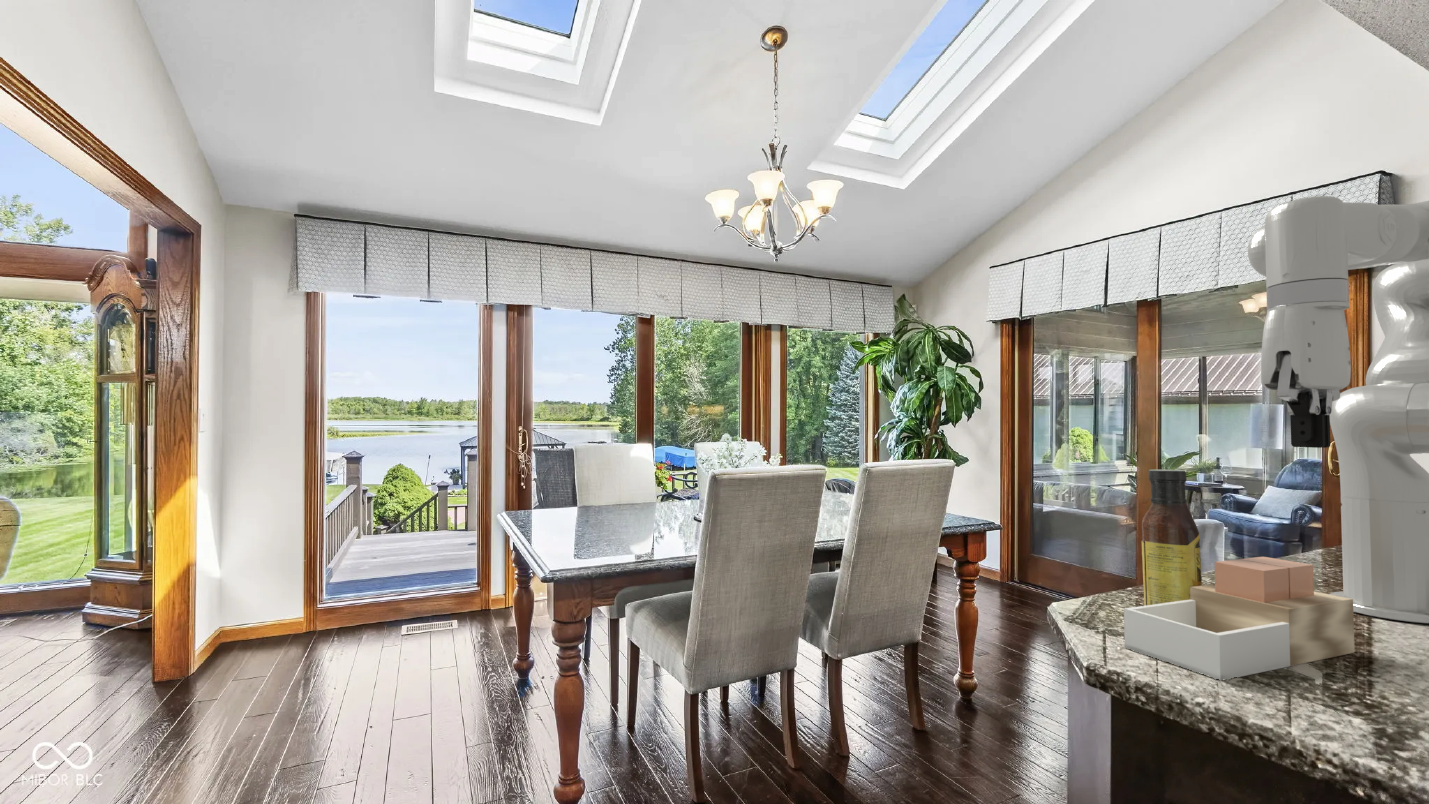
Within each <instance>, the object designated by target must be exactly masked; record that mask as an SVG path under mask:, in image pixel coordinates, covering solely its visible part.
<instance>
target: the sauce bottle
mask: <svg viewBox="0 0 1429 804" xmlns="http://www.w3.org/2000/svg"><path fill="white" fill-rule="evenodd" d="M1186 472H1187V471H1186V470H1184V469H1183V470H1182V469H1161V468H1160V469H1149V470H1148V480H1149V482H1150V499H1149V500H1150V503H1151V504H1150V506H1149V508H1148V510H1147V511H1146V512H1145V514H1144V515H1143V517H1142V521H1141V530H1142V531H1141V532H1142V535H1141V536H1142V540H1141V557H1142V560H1141V561H1142V580H1143V603H1144V605H1143V606H1146V605H1154V604H1161V603H1168V602H1175V601H1183V600H1190V587H1194V586H1202V585H1203V584H1202V583H1203V578H1202V577H1203V576H1202V575H1203V574H1202V558H1201V540H1200V539H1201V537H1200V531H1199V529H1198V527H1197V524H1196V522H1195V519H1194V517H1193V515H1192V513H1191V510H1190V507H1189V506H1188V503H1187V502H1188V501H1187V499H1186V482H1187V473H1186Z"/></svg>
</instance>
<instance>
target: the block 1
mask: <svg viewBox="0 0 1429 804" xmlns="http://www.w3.org/2000/svg"><path fill="white" fill-rule="evenodd" d="M1240 559H1241V558H1240ZM1240 559H1239V558H1237V559H1228V560H1220V561H1219V560H1218V561H1214V584H1215V592H1219V593H1223V594H1228V595H1232V596H1237V597H1241V598H1246V599H1250V600H1254V601H1259V602H1263V603H1266V602H1273V601H1279V600H1286V599H1289V573H1288V568H1286V567H1280V566H1274V565H1269V564H1263V563H1257V562H1252V561H1246V560H1240Z"/></svg>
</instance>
